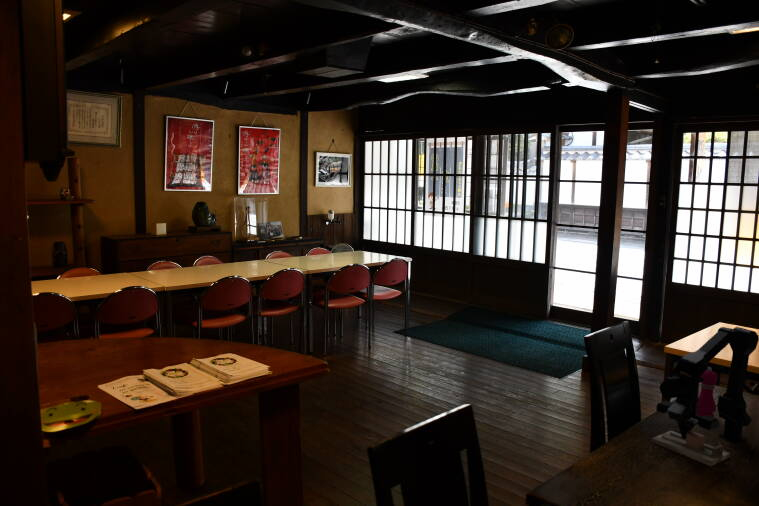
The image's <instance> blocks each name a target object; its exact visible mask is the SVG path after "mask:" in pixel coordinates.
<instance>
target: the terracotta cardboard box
mask: <svg viewBox="0 0 759 506" xmlns="http://www.w3.org/2000/svg"><path fill="white" fill-rule="evenodd" d="M705 441H706V435H704V434H701V433H698V432H696V431H691V432H690V433H688V434H687V437H686V445H689V446H691V447H694V448H696V449H701V448H703V447H704V443H705Z"/></svg>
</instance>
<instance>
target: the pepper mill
mask: <svg viewBox="0 0 759 506" xmlns="http://www.w3.org/2000/svg"><path fill="white" fill-rule="evenodd" d="M712 370H713V368H712V367H710V366H708V369H707V370H706V371H705V373H704V374H703V375H702V376H701V377H702V378H703V379H704V382H700V383H699V387H700V393H699V394H698V398H700V401H699V402H697V410H699V412H698V413H697V414H696V415H699V416H701V417H702V416H705V415H709V416H712V417H715V414H714V413H715V412H716V410H717V404H716V401H715V399H714V389H716V383H717V382H718V376H717V375H718V374H716V372H714V371H712Z"/></svg>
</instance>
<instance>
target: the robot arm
mask: <svg viewBox="0 0 759 506" xmlns="http://www.w3.org/2000/svg"><path fill="white" fill-rule="evenodd" d="M716 331H717V332H716V333H715V334H714V335H712V336H711V338H708V340H707V341H706V342H705V343H704V344H703V345H702V346H701V347H699V348H698V349H697V350H695V351H692V352H688V353H686V354H685V355H684V356H681V358H679V360H678V362H677V363H676V365H675V366H674V368H673V370H672V371H671V373H670V377H669V376H667V377H665V380H663V381H662V382H661V383H660V385H659V392H660V394H661V395H662V397H664V398H665V399H674V398H675V401H674V402H671V401H668V400H664V401H660V402H658V403H657V404H656V407H655V410H656V412H658V413H661V414H666V413H667V414H668V418H669V419H670V420H674V421H675V422H676V423H677V427H678V429H679V432H680V434H681V436H682V438H683V439H686V437H687V434H688V433H691V432H692V430H693V429H694V427H695V426H697V425H698V426H699V427H700V428H702V429H705V430H708V431H712V430H713V429H716V428H719V424H720V422H719V419H718V418H717V417H715V416H714V417H712V416H709V415H705V416H702V417H701V416H699V415H696V414H697V413H698V412H699V410H697V402H699V401H700V398H698V397H699V392H700V382H704V379H703V378H702V377H701V376H702V375H703V374H704V373H705V371H707V369H708V367H709V363H710V362H711V361H712V360H713V359H714V358H715V357H716V356H717V355H718V354H720V353H721V352H722V350H724V348H726V347H727V346H728V345H729V347H730V350H731V351H732V357H731V360H730V361H731V362H730V366H729V367H730V368H729V373H728V380H727V386H726V391H725V392H724V393H723V394H722V395H718V398H717V404H716V410H717V413H718V417H719V418H721V419H723V420H724V423H723V426H724V427H723V432H722V433H719V434H718V436H719V437H721V438H723V439H726V440H728V441H731V442H735V443H740V442H743V441H744V440H747V437H746V436H743V432H744V427H749V426H750V425H751V423H752V418H751V416H750V415H749V414H748V412H747V402H746V400H745V398H744V396H743V395H744V391H745V390H744V389H745V383H746V378H747V370H748V365H749V360H750V355H751V354H753V353H754V352H755V350H757V346H758V343H759V334H758V332H756V331H754V330H751V329H747V328H743V327H741V326H740V327H739V326H735V327H733V328H730V327H726V326H721V327H719V328H718V329H717V330H716Z"/></svg>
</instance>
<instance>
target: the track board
mask: <svg viewBox="0 0 759 506" xmlns="http://www.w3.org/2000/svg"><path fill="white" fill-rule="evenodd" d="M651 443H653V444H654V445H657V444H658V446H660V447H663V448H665V449H667V450H670V451H673V452H674V451H675V452H674V453H677V454H679V453H680V454H679V455H682V456H684V455H685V457H687V458H689V457H690V458H689V459H692V460H693V461H696V460H697V462H699V461H700V462H699V463H701V462H702V464H703V465H707V466H709V467H712V466H714V465H717V464H718V463H721V462H723V461H724V460H727V459H729V458H730V457H731V453H730V452H728V451H726V450H724V445H722V444H719V445H717V446H714V445H713V446H712V445H711V444H707V443H705V442H704V447H703V448H701V449H696V448H694V447H691V446H689V445H686V439H683V438H682V436H681V433H678V432H675V431H673V430H669V431H667V432H664V433H662V434H659V435H657V436H654V437H651Z"/></svg>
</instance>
